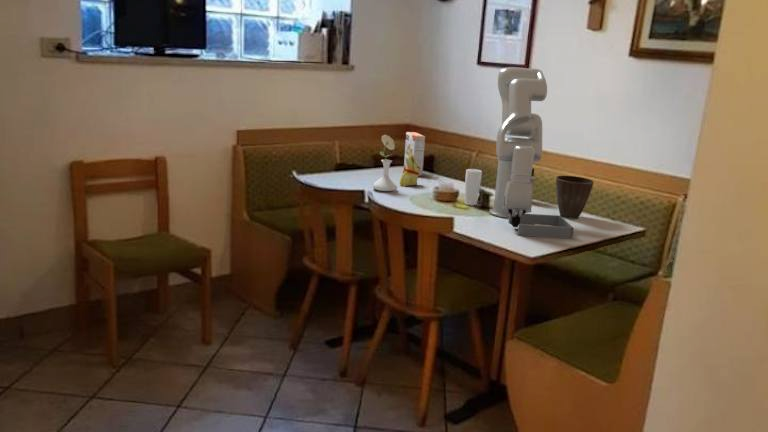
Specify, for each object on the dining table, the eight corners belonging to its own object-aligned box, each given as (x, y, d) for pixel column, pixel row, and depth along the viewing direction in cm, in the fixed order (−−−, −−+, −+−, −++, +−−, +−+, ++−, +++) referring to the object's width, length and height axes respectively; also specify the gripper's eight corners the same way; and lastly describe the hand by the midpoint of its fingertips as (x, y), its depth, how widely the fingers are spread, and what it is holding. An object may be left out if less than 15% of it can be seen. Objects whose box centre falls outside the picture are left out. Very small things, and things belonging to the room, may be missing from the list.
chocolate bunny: (421, 185, 318) (424, 154, 315) (403, 187, 312) (405, 155, 309) (413, 182, 324) (415, 152, 320) (395, 184, 318) (397, 153, 314)
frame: (558, 225, 261) (560, 215, 260) (572, 238, 243) (573, 228, 242) (508, 222, 260) (509, 212, 259) (518, 235, 243) (519, 224, 242)
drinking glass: (477, 203, 289) (480, 169, 286) (479, 206, 283) (483, 172, 279) (461, 202, 289) (465, 168, 285) (463, 206, 283) (467, 171, 279)
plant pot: (573, 211, 286) (578, 175, 282) (595, 220, 272) (601, 182, 268) (544, 212, 280) (549, 175, 276) (565, 222, 267) (570, 183, 263)
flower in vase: (401, 192, 299) (405, 137, 293) (377, 193, 295) (381, 137, 289) (390, 186, 311) (394, 133, 305) (367, 187, 307) (370, 133, 301)
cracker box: (402, 171, 352) (405, 131, 347) (413, 171, 354) (416, 131, 349) (411, 176, 339) (414, 135, 334) (422, 176, 341) (426, 135, 336)
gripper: (538, 178, 250) (532, 225, 255) (498, 175, 250) (493, 222, 255) (542, 182, 243) (536, 230, 248) (502, 179, 243) (496, 227, 247)
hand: (514, 226), depth 251 cm, fingers closed
